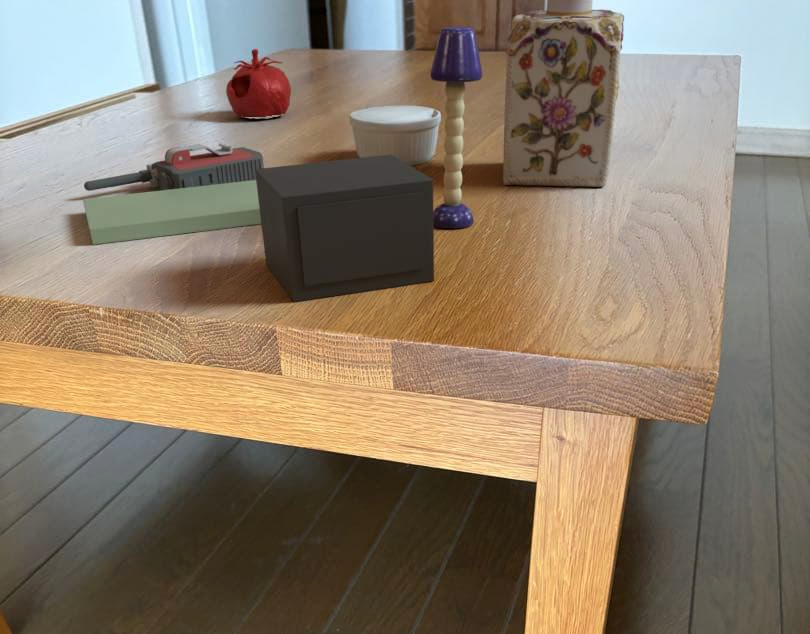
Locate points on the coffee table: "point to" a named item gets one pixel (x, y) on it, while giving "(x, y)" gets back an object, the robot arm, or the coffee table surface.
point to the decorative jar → (561, 95)
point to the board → (172, 211)
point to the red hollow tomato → (258, 89)
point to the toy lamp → (454, 116)
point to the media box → (346, 225)
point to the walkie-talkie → (191, 169)
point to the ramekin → (396, 132)
